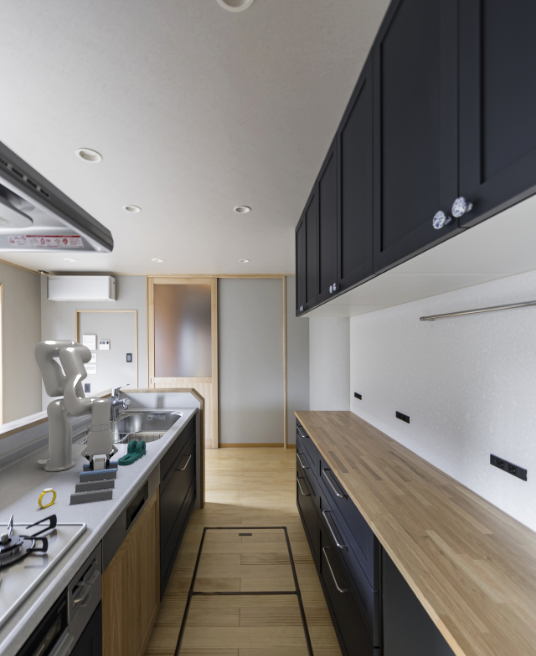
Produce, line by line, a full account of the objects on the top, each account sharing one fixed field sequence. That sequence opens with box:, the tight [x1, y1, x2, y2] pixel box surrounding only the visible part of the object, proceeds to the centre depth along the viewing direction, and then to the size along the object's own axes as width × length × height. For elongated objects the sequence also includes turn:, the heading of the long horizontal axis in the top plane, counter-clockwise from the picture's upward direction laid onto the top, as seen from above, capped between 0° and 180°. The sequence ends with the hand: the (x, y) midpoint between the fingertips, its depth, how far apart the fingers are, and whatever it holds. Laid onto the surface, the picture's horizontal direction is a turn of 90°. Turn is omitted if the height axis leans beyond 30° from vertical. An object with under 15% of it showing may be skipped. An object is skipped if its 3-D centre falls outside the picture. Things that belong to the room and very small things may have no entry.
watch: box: [37, 487, 57, 509], centre depth 129 cm, size 6×3×6 cm, turn 157°
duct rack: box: [69, 460, 119, 505], centre depth 148 cm, size 14×33×4 cm, turn 19°
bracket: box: [117, 439, 147, 467], centre depth 179 cm, size 18×7×8 cm, turn 174°
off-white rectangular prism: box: [93, 456, 106, 471], centre depth 158 cm, size 4×5×7 cm
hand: (99, 468), depth 158 cm, fingers open, 5 cm apart
